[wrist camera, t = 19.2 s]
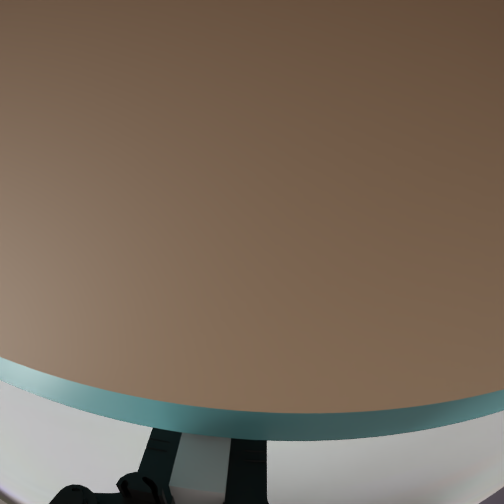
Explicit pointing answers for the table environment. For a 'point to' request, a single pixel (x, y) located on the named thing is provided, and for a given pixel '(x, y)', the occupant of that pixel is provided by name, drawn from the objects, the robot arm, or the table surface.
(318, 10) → the wooden drawer cabinet
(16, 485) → the table surface
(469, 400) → the drawer
